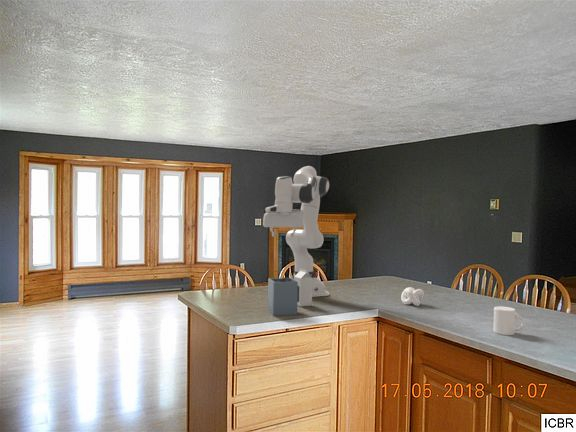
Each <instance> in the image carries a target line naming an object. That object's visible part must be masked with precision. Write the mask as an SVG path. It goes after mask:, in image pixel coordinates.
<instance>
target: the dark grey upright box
mask: <svg viewBox="0 0 576 432" xmlns="http://www.w3.org/2000/svg"><path fill="white" fill-rule="evenodd" d="M279 278H280V277H278V278H276V277H275V278H274V277H273V278H272V277H271V278H268V280H267V311H268V312H269V313H270V314H271V315H272V316H275V315H276V316H291V315H293V316H294V315H298V305H297V302H299V285H298V282H297V281H296V280H294V278H293V277H285V278H286V282H279Z"/></svg>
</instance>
